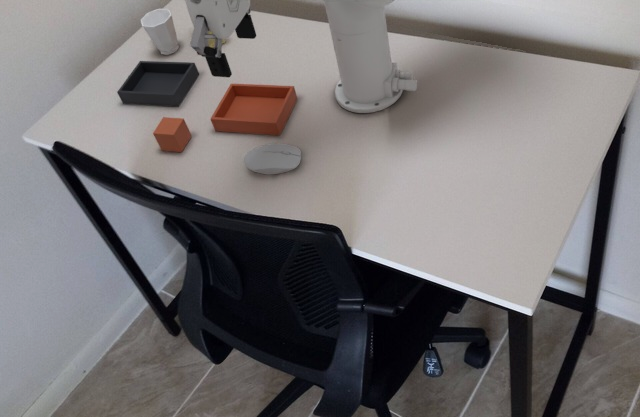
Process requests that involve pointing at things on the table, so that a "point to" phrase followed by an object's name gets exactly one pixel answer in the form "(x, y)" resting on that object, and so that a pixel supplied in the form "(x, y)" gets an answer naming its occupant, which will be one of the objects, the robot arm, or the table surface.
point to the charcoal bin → (158, 83)
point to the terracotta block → (172, 134)
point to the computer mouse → (273, 158)
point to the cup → (161, 30)
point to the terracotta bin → (254, 109)
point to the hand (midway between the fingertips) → (235, 56)
